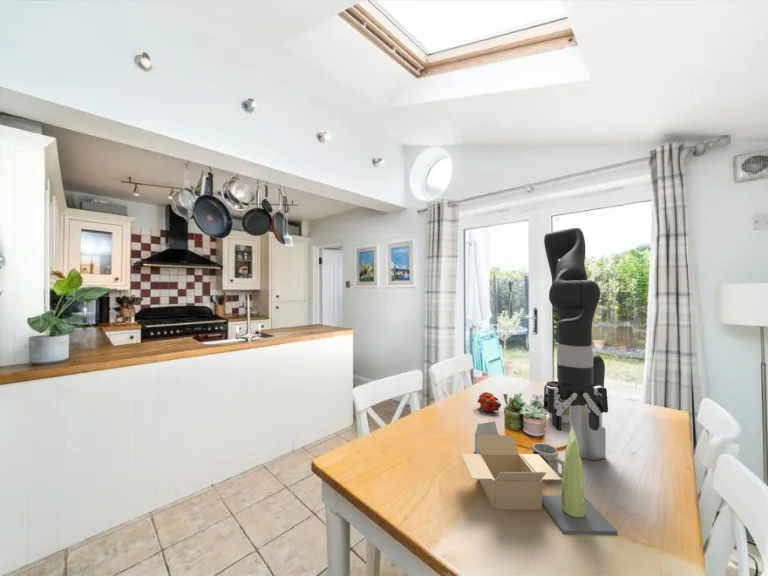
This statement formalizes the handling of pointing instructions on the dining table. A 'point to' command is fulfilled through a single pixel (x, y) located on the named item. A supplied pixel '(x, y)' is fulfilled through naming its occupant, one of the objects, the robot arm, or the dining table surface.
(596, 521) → the mat
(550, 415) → the coffee cup
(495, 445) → the carton
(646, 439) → the dining table surface
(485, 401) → the dragon fruit
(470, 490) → the dining table surface
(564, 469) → the light green tall cone
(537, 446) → the mug
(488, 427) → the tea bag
